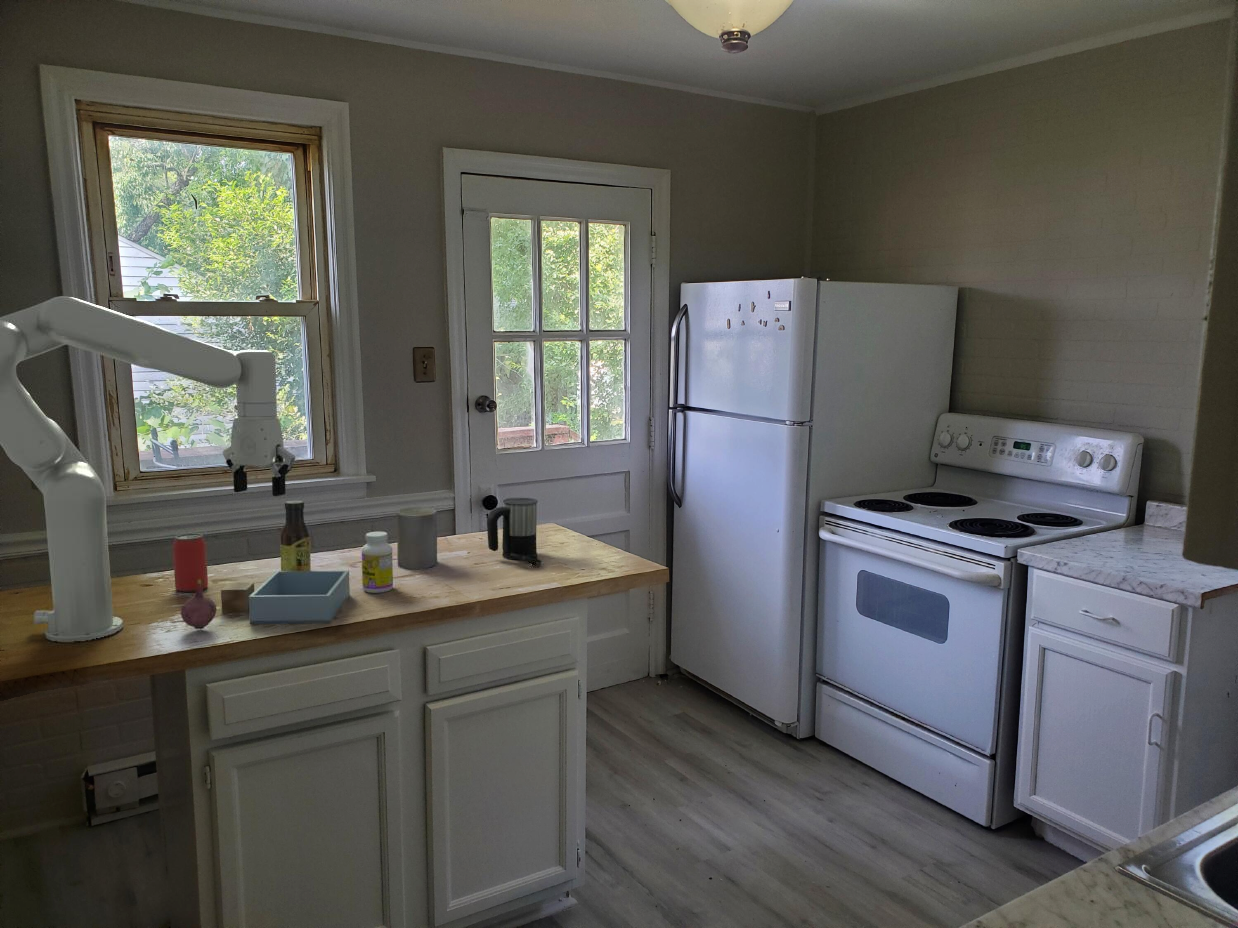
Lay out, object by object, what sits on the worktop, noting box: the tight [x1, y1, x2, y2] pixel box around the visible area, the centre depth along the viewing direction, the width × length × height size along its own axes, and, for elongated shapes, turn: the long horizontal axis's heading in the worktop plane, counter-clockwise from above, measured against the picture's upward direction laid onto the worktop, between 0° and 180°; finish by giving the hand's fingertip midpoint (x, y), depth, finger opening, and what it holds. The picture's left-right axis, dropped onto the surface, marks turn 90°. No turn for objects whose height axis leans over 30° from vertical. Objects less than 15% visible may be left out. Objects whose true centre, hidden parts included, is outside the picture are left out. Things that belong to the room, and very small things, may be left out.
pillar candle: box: [396, 505, 438, 570], centre depth 217 cm, size 10×10×15 cm
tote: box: [248, 570, 351, 625], centre depth 182 cm, size 15×18×6 cm
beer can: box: [172, 532, 209, 593], centre depth 194 cm, size 7×7×12 cm
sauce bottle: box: [279, 499, 312, 571], centre depth 195 cm, size 7×6×20 cm
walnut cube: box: [220, 582, 255, 614], centre depth 181 cm, size 5×5×5 cm
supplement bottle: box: [361, 531, 394, 594], centre depth 196 cm, size 7×7×13 cm
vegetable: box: [180, 580, 217, 631], centre depth 168 cm, size 6×6×10 cm
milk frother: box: [486, 497, 542, 566], centre depth 223 cm, size 14×16×15 cm
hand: (259, 493), depth 181 cm, fingers open, 9 cm apart
